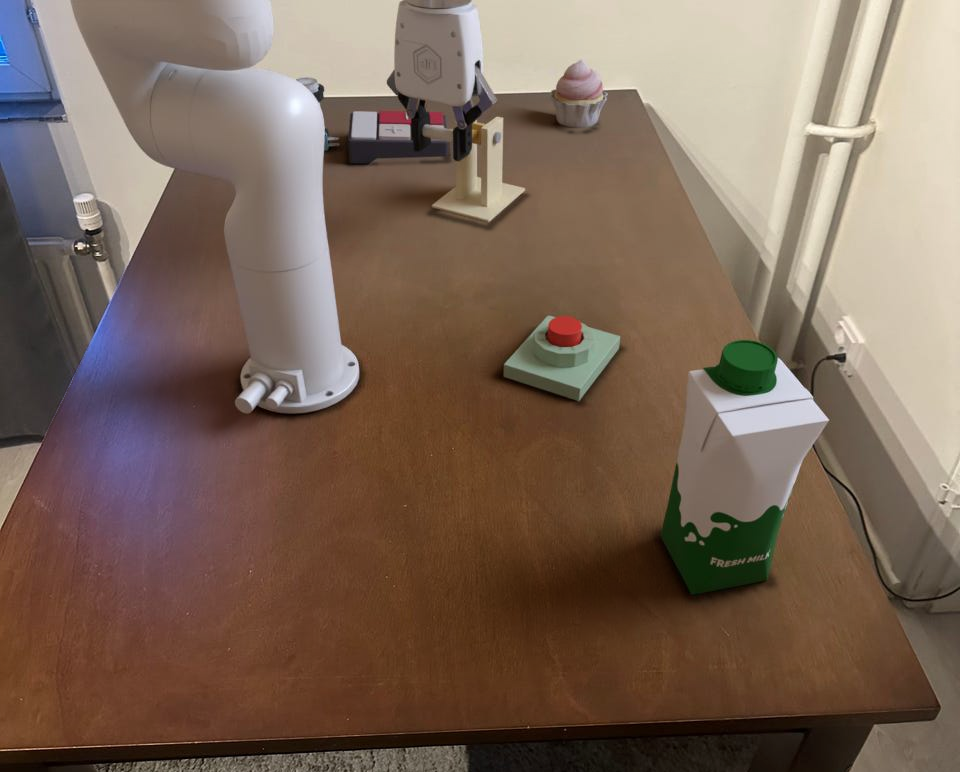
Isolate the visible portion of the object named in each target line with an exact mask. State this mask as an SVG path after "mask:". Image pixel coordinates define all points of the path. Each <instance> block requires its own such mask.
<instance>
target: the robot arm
mask: <svg viewBox="0 0 960 772" xmlns="http://www.w3.org/2000/svg"><path fill="white" fill-rule="evenodd" d="M271 3H272V2H271V0H70V5H71V10H72V13H73V17H74V21H75V23H76V25H77V27H78V28H77V29H79V32H80V34H81V37H82V39H83V41H84V43H85V45H86V48H87V49H88V52H89V54H90V56H91V58H92V60H93V62H94V64H95V66H96V68H97V70H98V72H99V75H100V76H101V79H102V80H103V82H104V84H105V86H106V89H107V90H108V92H109V95H110V97H111V99H112V101H113V103H114V105H115V107H116V109H117V111H118V113H119V115H120V116H121V119H122V121H123V124H125V127H126V128H127V130H128V132H129V134H130V135H131V137H132V139H133V140H134V142H135V143H136V144H137V146H138V147H139V148H140V150H141V151H142V152H143V153H144V154H145V155H146V156H147V157H148V158H149V159H150V160H153V162H156V163H158V164H160V165H162V166H165V167H168V168H170V169H174V170H179V171H183V172H186V173H191V174H196V175H201V176H204V177H210V178H214V179H216V180H221V181H225V182H228V183H229V184H231V185H232V186H233V187H234V189H235V196H234V199H233V202H232V204H231V205H230V208H229V210H228V211H227V213H226V216H225V220H224V225H223V236H224V242H225V248H226V251H227V252H226V253H227V256H228V259H229V264H230V269H231V273H232V278H233V283H234V288H235V291H236V296H237V297H236V298H237V301H238V305H239V311H240V314H241V319H242V324H243V329H244V332H245V337H246V342H247V348H248V351H249V356H250V357H249V358H248V360H247V361H246V362H244V365H243V367H242V368H241V372H240V376H239V377H240V384H241V389H242V391H241V393H240V394H239V395H238V396H237V397H236V398H235V400H234V404H235V407H236V408H237V410H238V411H240V412H241V413H242V414H246V415H247V414H251V413H252V411H253V410H254V409H255V408H256V407H257V406H258V407H259V408H262V409H264V410H267V411H270V412H274V413H279V414H293V415H294V414H295V415H296V414H306V413H312V412H316V411H321V410H323V409H327V408H329V407H331V406H333V405H335V404H337V403H339V402H340V401H342V400H343V399H345V398H347V396H349V395H350V394H351V393H353V390H354V389H355V388H356V386H357V385H358V382H359V379H360V366H359V361H358V358H357V356H356V355H355V354H354V353H353V351H351V350H350V348H348V347H346V346H345V345H343V344H342V340H341V339H342V338H341V330H340V321H339V315H338V309H337V308H338V307H337V301H336V300H337V299H336V293H335V284H334V277H333V269H332V261H331V254H330V245H329V241H328V231H327V226H326V225H327V224H326V218H325V217H326V216H325V206H324V205H325V204H324V190H323V188H324V187H323V186H324V185H323V183H324V182H323V179H324V178H323V175H324V174H323V173H324V157H325V151H324V142H325V128H326V126H325V118H324V114H323V110H322V108H321V104H320V105H319V103H318V101H317V99H316V98H315V96H314V95H313V94H312V92H311V91H310V90H309V89H308V88H307V87H305V86H304V85H303V84H301V83H300V82H298V81H297V80H296V79H295V78H293V77H292V76H289V75H286V74H283V73H281V72H278V71H274V70H270V69H266V68H259V67H254V66H256V65H257V64H259V63H260V62H262V61H263V60H264V59H265V57H266V56H267V54H268V53H269V51H270V50H271V48H272V45H273V40H274V34H275V27H274V26H275V24H274V16H273V15H274V13H273V7H272V4H271ZM396 13H397V14H396V22H395V29H394V30H395V31H394V49H393V51H394V53H393V54H394V55H393V61H394V62H393V63H394V64H393V66H394V67H393V70H392V72H391V73H390V75H389V76H388V78H387V79H386V85H387V87H388V88H389V90H391V91H392V92H393V93H394V95H395V96H396V97H397V99H398V101H399V102H400V104H401V105H402V106H403V108H404V109H405V111H406V114H407V116H408V117H409V118H411V129H412V140H413V146H414V151H415V152H420V151H421V150H423V149H424V148H426V147H427V146H429V145H430V144H431V138H429V137H424V136H423V134H422V129H423V126H424V125H425V124H427V125H431V124H430V115H429V112H430V111H427V107H428V102H430V103H436V104H440V105H441V104H442V105H446V106H451V107H452V111H453V115H454V119H455V122H456V123H457V127H456V128H455V127H454V128H452V129H453V143H452V158H453V160H454V162H455V161H458V162H459V161H461V160H462V159H463V158H465V157H466V156H468V155H469V154H470V151H471V149H472V123H474V122H475V121H476V120H477V121H478V119H479V118H480V117H481V116H482V115H483V114H485V113H486V112H487V111H488V110H490V109H491V108H492V107H494V106H495V105H496V104H497V103H498V99H497V97H496V95H495V93H494V91H493V90H492V88H491V86H490V85H489V83H488V81H487V80H486V78H485V76H484V75H485V73H484V72H485V71H484V70H485V69H484V67H485V66H484V48H483V38H482V29H481V24H480V17H479V12H478V7H477V5H476V4H473V0H401V1H399V2H398V8H397V12H396ZM473 97H478V98H479V101H478V102H477V103H476V104H475V105H474V100H473ZM324 126H325V127H324Z"/></svg>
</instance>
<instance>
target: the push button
mask: <svg viewBox="0 0 960 772" xmlns="http://www.w3.org/2000/svg"><path fill="white" fill-rule="evenodd" d="M295 80H297V81H298V82H300V83H301V84H303V85H304V86H305V87H307V88H308V89H309V90H310V91H311V92H312V94H313V95H314V96H315V98H316V99H317V101H318V103H319V105H320V106H321V102H322V101H323V100H324V98H325V96H324V95H325V94H324V92H325V86H324V85H323V84H321V83H318V80H317V79H316V78H314V77H308V76H307V77H299V78H296V79H295ZM324 127H325V142H324V152H325V151H328V150H329V148H330V147H336V146H337V147H339V146H340V143H339V142H330V141H339V139H340V137H335V136H334V137H333V136H330V135H329V129H328V128H326V125H324Z"/></svg>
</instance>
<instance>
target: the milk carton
mask: <svg viewBox="0 0 960 772" xmlns="http://www.w3.org/2000/svg"><path fill="white" fill-rule="evenodd" d="M829 421H830V419H829V418H828V417H827V415H826V414H825V413H824V412H823V411H822V409H821V408H820V407H819V406H818V405H817V403H816V402H815V401H814V396H813V395H812V394H811V393H810V391H809V390H808V389H807V388H806V387H804V385H802V383H801V382H800V381H799V379H798V378H797V377H796V376H795V374H794V373H793V372H792V371H791V370H790V369H789V368H788V367H787V366H786V364H785V363H784V362H783V360H781V358H779V357H778V355H777V353H776V351H775V350H774V349H773V348H771V347H770V346H768V345H767V344H765V343H763V342H760V341H757V340H751V339H737V340H733V341H730V342H729V343H727V344H725V345H724V347H723V349H722V350H721V354H720V358H719V363H718V364H716V365H714V366H707V367H703V369H695V370H690V371H688V375H687V387H686V400H685V413H684V422H683V429H682V434H681V440H680V443H679V449H678V453H677V459H676V463H675V468H674V473H673V477H672V482H671V487H670V492H669V495H668V496H669V497H668V501H667V505H666V511H665V514H664V519H663V523H662V527H661V531H660V538H661V540H662V542H663V543H664V546H665V547H666V549H667V550H668V553H669V555H670V557H671V559H672V560H673V563H674V564H675V566H676V568H677V570H678V572H679V574H680V575H681V578H682V579H683V581H684V584H685V585H686V587H687V589H688V591H689V592H690V595H691V596H695V595H700V594H704V593H705V594H706V593H711V592H714V591H720V590H725V589H731V588H735V587H740V586H746V585H752V584H756V583H757V584H758V583H763V582H766V581H768V580H769V576H770V570H771V566H772V561H773V557H774V553H775V548H776V545H777V539H778V534H779V531H780V528H781V525H782V522H783V518H784V517H785V513H786V510H787V507H788V504H789V501H790V498H791V496H792V492H793V489H794V486H795V483H796V481H797V478H798V475H799V471H800V469H801V466H802V464H803V461H804V460H805V458H806V456H807V454H808V453H809V451H810V450H811V448H812V447H813V445H814V444H815V442H816V441H817V439H818V437H819V436H820V435H821V433H822V432H823V431H824V429H825V427H826V426H827V425H828V423H829Z"/></svg>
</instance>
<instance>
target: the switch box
mask: <svg viewBox="0 0 960 772" xmlns="http://www.w3.org/2000/svg"><path fill="white" fill-rule="evenodd" d="M554 318H556V317H555V316H552V315H547V316H546V317H545V318H544V319H543V320H542V321H541V322H540V324H539V325H537V327H536V328H535V329H534V330H533V331H532V332H531V334H529V335H528V336H527V338H526V339H525V340H524V342H522V343H521V344H520V345H519V347H518V348H517V349H516V350H515V351H514V352H513V354H511V356H510V357H509V358H508V359H507V360H506V361H505V362H504V364H503V378H506V379H509V380H512V381H515V382H518V383H521V384H525V385H528V386H531V387H534V388H537V389H539V390H543V391H546V392H549V393H553V394H555V395H558V396H562V397H565V398H568V399H571V400H574V401H577V402H580V401H581V399H583V397H584V395H585V394H586V393H587V391H588V390H589V389H590V388H591V386H592V385H593V384H594V383H595V381H596V380H597V378H599V376H600V375H601V373H602V372H603V370H604V369H605V368H606V366H607V365H608V364H609V362H610V361H611V360H612V358H613V357H614V356H615V354H616V353H617V352H618V351H619V350H620V343H621V335H617V334H614V333H611V332H607V331H604V330H601V329H597V328H593V327H589V326H588V325H586V324H585V323H583V322H580V323H581V324H582V332H581V341H580V343H579V344H578V345H576V346H573V347H558V346H555V345H552V344H550V343H549V341H548V324H549V322H550V321H551V320H552V319H554Z"/></svg>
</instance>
